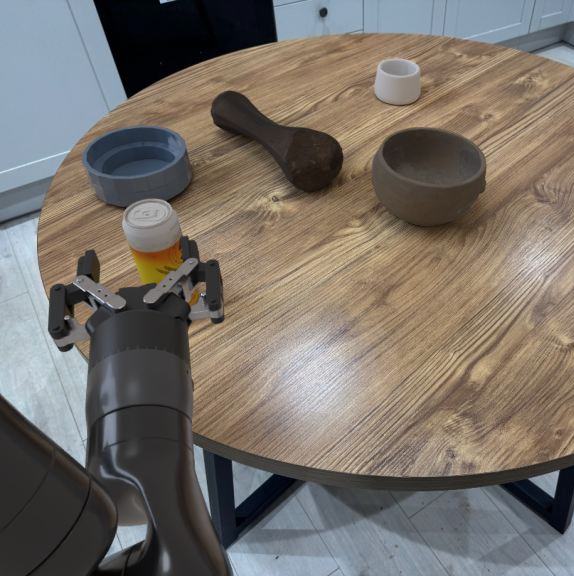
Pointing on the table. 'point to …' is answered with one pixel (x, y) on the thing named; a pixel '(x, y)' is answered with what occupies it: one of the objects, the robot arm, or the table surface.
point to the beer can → (154, 240)
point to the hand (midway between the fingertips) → (140, 249)
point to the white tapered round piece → (397, 81)
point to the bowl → (428, 175)
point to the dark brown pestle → (282, 141)
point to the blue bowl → (137, 164)
